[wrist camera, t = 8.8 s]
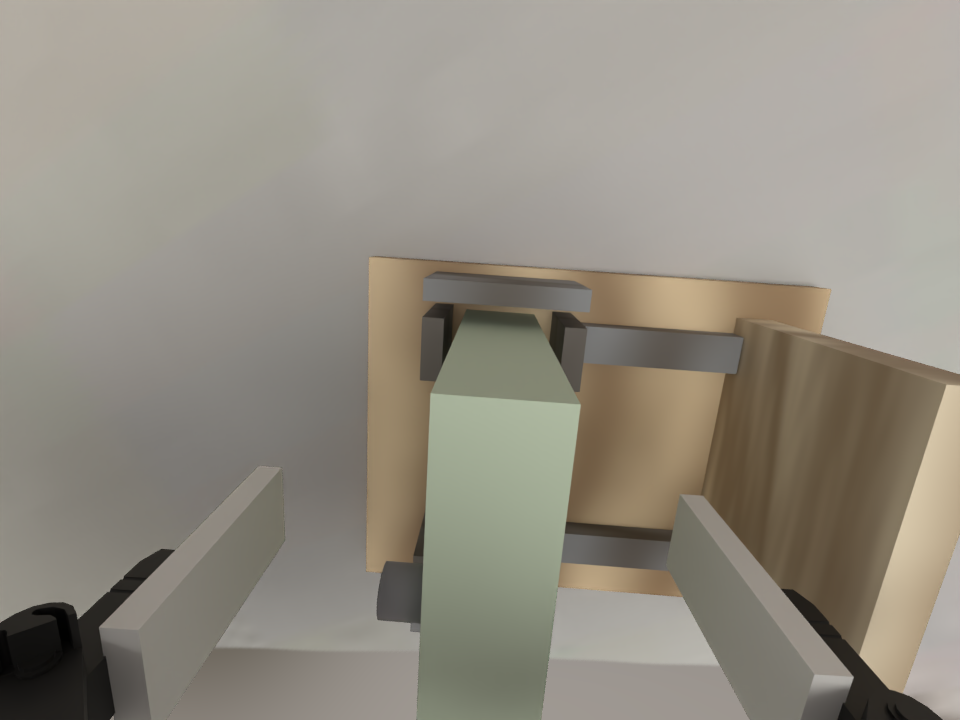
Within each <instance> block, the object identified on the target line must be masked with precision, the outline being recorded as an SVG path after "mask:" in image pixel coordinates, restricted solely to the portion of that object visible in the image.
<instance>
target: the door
mask: <svg viewBox="0 0 960 720" xmlns="http://www.w3.org/2000/svg"><path fill="white" fill-rule="evenodd" d="M580 407H581V404H580V402H579V400H578V398H577V396H576V394H575V392H574V390H573V389H572V387H571V385H570V383H569V381H568V379H567V377H566V375H565V373H564V371H563V369H562V367H561V365H560V363H559V361H558V359H557V358H556V356H555V354H554V352H553V350H552V348H551V346H550V344H549V342H548V340H547V338H546V336H545V334H544V332H543V330H542V329H541V327H540V325H539V323H538V321H537V319H536V317H535V315H534V314H526V313H512V312H498V311H484V310H470V309H467V310H466V312H465V314H464V317H463V319H462V321H461V324H460V326H459V328H458V331H457V333H456V335H455V338H454V340H453V342H452V345H451V347H450V349H449V352H448V354H447V356H446V359H445V361H444V363H443V366H442V368H441V370H440V373H439V375H438V377H437V380H436V382H435V384H434V387H433V389H432V391H431V394H430V417H429V441H428V464H427V487H426V510H425V533H424V556H423V564H421V563H408V562H396V561H386V562H385V565H384V567H383V570H382V574H381V579H380V584H379V590H378V598H377V619H378V620H383V621H395V622H407V623H419V624H421V626H420V649H419V673H418V696H417V718H416V720H541V716H542V708H543V701H544V693H545V685H546V677H547V669H548V661H549V653H550V645H551V637H552V629H553V621H554V613H555V605H556V598H557V590H558V582H559V574H560V566H561V558H562V550H563V542H564V534H565V526H566V518H567V510H568V502H569V494H570V486H571V478H572V471H573V463H574V455H575V447H576V439H577V431H578V423H579V415H580Z"/></svg>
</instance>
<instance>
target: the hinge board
mask: <svg viewBox="0 0 960 720" xmlns="http://www.w3.org/2000/svg"><path fill="white" fill-rule="evenodd" d="M830 293H831V289H826V288H819V287H810V286H796V285H782V284H767V283H753V282H738V281H724V280H710V279H695V278H681V277H667V276H652V275H638V274H624V273H609V272H595V271H581V270H566V269H552V268H537V267H523V266H509V265H494V264H480V263H466V262H451V261H437V260H423V259H408V258H394V257H380V256H374V257H369V313H368V425H367V537H366V572H378V573H382V570H383V567H384V565H385V562H386V561H396V562H408V563H421V564H423V556H424V533H425V510H426V487H427V464H428V441H429V417H430V394H431V391H432V389H433V387H434V384H435V382H436V380H437V377H438V375H439V373H440V370H441V368H442V366H443V363H444V361H445V359H446V356H447V354H448V352H449V349H450V347H451V345H452V342H453V340H454V338H455V335H456V333H457V331H458V328H459V326H460V324H461V321H462V319H463V317H464V314H465V312H466V310H467V309H470V310H484V311H498V312H512V313H526V314H534V315H535V317H536V319H537V321H538V323H539V325H540V327H541V329H542V330H543V332H544V334H545V336H546V338H547V340H548V342H549V344H550V346H551V348H552V350H553V352H554V354H555V356H556V358H557V359H558V361H559V363H560V365H561V367H562V369H563V371H564V373H565V375H566V377H567V379H568V381H569V383H570V385H571V387H572V389H573V390H574V392H575V394H576V396H577V398H578V400H579V402H580V404H581V407H580V415H579V423H578V431H577V439H576V447H575V455H574V463H573V471H572V478H571V486H570V494H569V502H568V510H567V518H566V526H565V534H564V542H563V550H562V558H561V566H560V574H559V582H558V587H565V588H578V589H590V590H602V591H615V592H627V593H640V594H652V595H665V596H677V597H683V596H682V594H681V592H680V591H679V589H678V587H677V585H676V583H675V581H674V579H673V578H672V576H671V574H670V572H669V570H668V568H667V567H666V563H667V558H668V553H669V547H670V542H671V537H672V532H673V527H674V522H675V517H676V511H677V506H678V501H679V496H680V494H686V495H701V496H704V497H705V499H706V500H707V501H708V502H709V503H710V505H711V506H712V507H713V508H714V509H715V511H716V512H717V513H718V514H719V515H720V517H721V518H722V519H723V520H724V522H725V523H726V524H727V525H728V526H729V528H730V529H731V530H732V531H733V532H734V534H735V535H736V536H737V537H738V538H739V540H740V541H741V542H742V543H743V544H744V546H745V547H746V548H747V549H748V550H749V552H750V553H751V554H752V555H753V556H754V558H755V559H756V560H757V561H758V562H759V564H760V565H761V566H762V567H763V568H764V570H765V571H766V572H767V573H768V574H769V576H770V577H771V578H772V579H773V580H774V582H775V583H776V584H777V585H778V586H779V588H780V589H793V590H795V591H796V592H797V593H799V594H800V595H801V596H803V597H804V598H806V599H807V600H808V601H810V602H811V603H812V604H814V605H815V606H816V607H817V609H818V610H819V611H820V612H821V613H822V614H823V615H824V617H825V618H826V619H827V620H828V621H829V624H830V625H832V626H833V627H834V628H835V629H836V630H837V631H838V632H839V633H840V635H841V637H842V639H845V640H846V641H847V642H848V644H849V645H850V646H851V647H852V648H853V649H854V650H855V651H856V653H857V654H858V655H859V656H860V657H861V658H862V659H863V660H864V662H865V663H866V664H867V665H868V666H869V667H870V668H871V670H872V671H873V672H874V673H875V674H876V675H877V676H878V677H879V679H880V680H881V681H882V682H883V683H884V684H885V685H886V686H887V688H888V689H889V690H894V691H897V692H900V693H903V690H904V688H905V685H906V682H907V679H908V677H909V674H910V671H911V668H912V665H913V663H914V660H915V657H916V654H917V652H918V649H919V646H920V643H921V640H922V638H923V635H924V632H925V629H926V626H927V624H928V621H929V618H930V615H931V613H932V610H933V607H934V604H935V601H936V599H937V596H938V593H939V590H940V588H941V585H942V582H943V579H944V576H945V574H946V571H947V568H948V565H949V562H950V560H951V557H952V554H953V551H954V549H955V546H956V543H957V540H958V537H959V535H960V374H956V373H953V372H949V371H946V370H942V369H939V368H935V367H932V366H928V365H925V364H922V363H918V362H915V361H911V360H908V359H904V358H901V357H897V356H894V355H890V354H887V353H883V352H880V351H877V350H873V349H870V348H866V347H863V346H859V345H856V344H852V343H849V342H845V341H842V340H838V339H835V338H831V337H828V336H825V335H821V334H820V333H821V329H822V325H823V321H824V317H825V313H826V309H827V305H828V301H829V297H830ZM420 626H421V624H419V623H411V629H410V631H411V632H420Z"/></svg>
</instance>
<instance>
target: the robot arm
mask: <svg viewBox="0 0 960 720" xmlns="http://www.w3.org/2000/svg"><path fill="white" fill-rule="evenodd" d="M284 541H285V525H284V502H283V479H282V467H267V466H258V467H257V468H256V469H255V470H254V471H253V472H252V473H251V474H250V475H249V476H248V477H247V478H246V479H245V480H244V481H243V482H242V483H241V484H240V485H239V486H238V487H237V488H236V489H235V490H234V491H233V492H232V493H231V494H230V495H229V496H228V497H227V498H226V499H225V500H224V501H223V502H222V504H221V505H220V506H219V507H218V508H217V509H216V510H215V511H214V512H213V513H212V514H211V515H210V516H209V517H208V518H207V519H206V520H205V521H204V522H203V523H202V524H201V525H200V526H199V527H198V528H197V529H196V530H195V531H194V532H193V533H192V534H191V535H190V536H189V537H188V538H187V539H186V540H185V541H184V542H183V543H182V544H181V545H180V546H179V547H178V548H177V549H176V550H169V549H161V550H159V551H157V552H155V553H154V554H152V555H150V556H149V557H147V558H145V559H143V560H142V561H140V562H139V563H138V564H137V565H136V566H135V567H134V568H132V569H131V570H130V571H129V572H128V573H127V574H126V575H125V576H124V579H123V580H120V581H119V582H118V583H117V584H115V585H114V586H113V587H112V588H111V590H110V592H107V593H106V594H105V595H104V596H103V597H102V598H101V599H99V600H98V601H97V602H96V603H95V604H94V605H93V606H92V607H91V608H90V609H89V610H88V611H87V612H86V613H85V614H84V615H82V616H81V617H80V618H79V619H78V620H77V614H76V611H75V609H74V607H73V606H72V605H69V604H66V603H64V602H62V603H46V604H42V605H38V606H33V607H31V608H28V609H26V610H23V611H21V612H19V613H16V614H14V615H12V616H11V617H9V618H7V619H6V620H4V621H2V622H1V623H0V720H110V719H111V717H112V716H113V715H114V720H167V718H168V717H169V715H170V714H171V712H172V711H173V709H174V708H175V706H176V705H177V703H178V702H179V700H180V699H181V697H182V696H183V694H184V693H185V691H186V690H187V688H188V686H189V685H190V683H191V682H192V680H193V679H194V678H195V676H196V674H197V673H198V671H199V670H200V668H201V667H202V665H203V664H204V662H205V661H206V659H207V658H208V656H209V655H210V653H211V652H212V650H213V649H214V647H215V646H216V644H217V643H218V641H219V640H220V638H221V637H222V635H223V634H224V632H225V631H226V629H227V628H228V626H229V625H230V623H231V622H232V620H233V619H234V617H235V615H236V614H237V612H238V611H239V609H240V608H241V606H242V605H243V603H244V602H245V600H246V599H247V597H248V596H249V594H250V593H251V591H252V590H253V588H254V587H255V585H256V584H257V582H258V581H259V579H260V578H261V576H262V575H263V573H264V572H265V570H266V569H267V567H268V566H269V564H270V563H271V561H272V560H273V558H274V556H275V555H276V553H277V552H278V550H279V549H280V547H281V546H282V544H283V543H284ZM666 567H667V568H668V570H669V572H670V574H671V576H672V578H673V579H674V581H675V583H676V585H677V587H678V589H679V591H680V592H681V594H682V596H683V598H684V600H685V602H686V603H687V605H688V607H689V609H690V611H691V613H692V614H693V616H694V618H695V620H696V622H697V624H698V626H699V627H700V629H701V631H702V633H703V635H704V637H705V638H706V640H707V642H708V644H709V646H710V648H711V649H712V651H713V653H714V655H715V657H716V659H717V660H718V662H719V664H720V666H721V668H722V670H723V672H724V673H725V675H726V677H727V679H728V681H729V682H730V684H731V686H732V688H733V690H734V692H735V693H736V695H737V697H738V699H739V701H740V703H741V704H742V706H743V708H744V710H745V712H746V714H747V716H748V717H749V719H750V720H942V719H941V718H940V717H939V716H938V715H937V714H935V713H934V712H933V711H932V710H930V709H929V708H928V707H927V706H925V705H923V704H922V703H920V702H918V701H917V700H915V699H913V698H912V697H910V696H907V695H905V694H902V693H900V692H897V691H894V690H889V689H888V688H887V686H886V685H885V684H884V683H883V682H882V681H881V680H880V679H879V677H878V676H877V675H876V674H875V673H874V672H873V671H872V670H871V668H870V667H869V666H868V665H867V664H866V663H865V662H864V660H863V659H862V658H861V657H860V656H859V655H858V654H857V653H856V651H855V650H854V649H853V648H852V647H851V646H850V645H849V644H848V642H847V641H846V640H845V639H842V637H841V635H840V633H839V632H838V631H837V630H836V629H835V628H834V627H833V626H832V625H830V624H829V621H828V620H827V619H826V618H825V617H824V615H823V614H822V613H821V612H820V611H819V610H818V609H817V607H816V606H815V605H814V604H812V603H811V602H810V601H808V600H807V599H806V598H804V597H803V596H801V595H800V594H799V593H797V592H796V591H795V590H793V589H780V588H779V586H778V585H777V584H776V583H775V582H774V580H773V579H772V578H771V577H770V576H769V574H768V573H767V572H766V571H765V570H764V568H763V567H762V566H761V565H760V564H759V562H758V561H757V560H756V559H755V558H754V556H753V555H752V554H751V553H750V552H749V550H748V549H747V548H746V547H745V546H744V544H743V543H742V542H741V541H740V540H739V538H738V537H737V536H736V535H735V534H734V532H733V531H732V530H731V529H730V528H729V526H728V525H727V524H726V523H725V522H724V520H723V519H722V518H721V517H720V515H719V514H718V513H717V512H716V511H715V509H714V508H713V507H712V506H711V505H710V503H709V502H708V501H707V500H706V499H705V497H704V496H701V495H686V494H680V496H679V501H678V506H677V511H676V517H675V522H674V527H673V532H672V537H671V542H670V547H669V553H668V558H667V563H666Z"/></svg>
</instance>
